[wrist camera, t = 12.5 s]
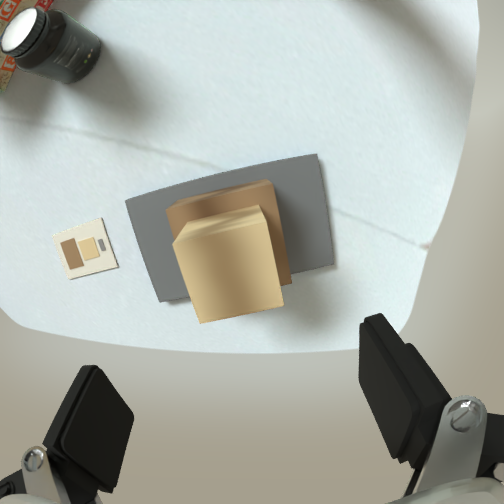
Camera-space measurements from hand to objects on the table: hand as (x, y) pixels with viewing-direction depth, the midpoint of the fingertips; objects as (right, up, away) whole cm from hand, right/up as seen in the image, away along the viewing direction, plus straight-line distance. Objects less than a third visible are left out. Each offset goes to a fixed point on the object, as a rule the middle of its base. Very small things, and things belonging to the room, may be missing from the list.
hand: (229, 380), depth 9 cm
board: (-1, +7, +21) cm, 22 cm away
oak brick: (-1, +5, +15) cm, 16 cm away
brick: (-1, +6, +20) cm, 21 cm away
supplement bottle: (-19, +27, +13) cm, 36 cm away
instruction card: (-19, +5, +21) cm, 29 cm away
